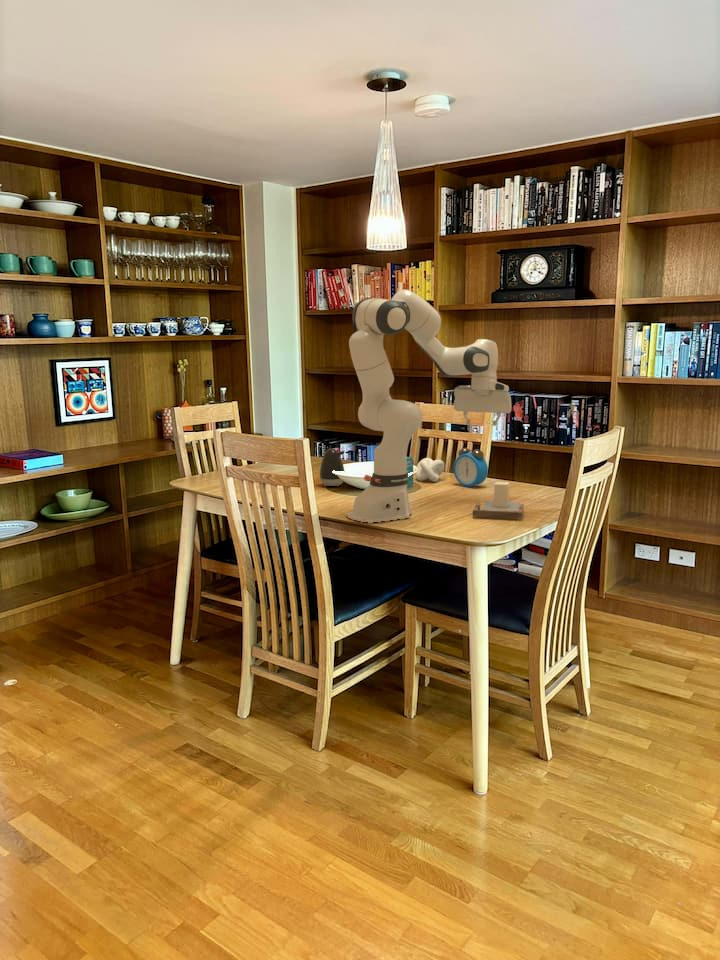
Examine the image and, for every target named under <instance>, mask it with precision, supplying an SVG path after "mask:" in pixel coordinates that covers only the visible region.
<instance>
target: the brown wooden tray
mask: <svg viewBox="0 0 720 960" xmlns="http://www.w3.org/2000/svg"><path fill="white" fill-rule="evenodd" d="M524 507H525V506H524V504H521V503H520V506H519V510H518V511H505V510H482V509H481V502H476V504H475V506H474V508H473V509H472V519H480V520H499V521H500V520H501V521H502V520H503V521H520V522H521V521H522V520H523V517H524V510H525V509H524Z"/></svg>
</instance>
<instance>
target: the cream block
mask: <svg viewBox="0 0 720 960" xmlns="http://www.w3.org/2000/svg"><path fill="white" fill-rule="evenodd" d="M509 489H510V482H509V481H495V482H494V489H493V491H494V495H493V497H494V498H493V500H494V501H493V502H494V507H500V508H508V503H509V498H510V497H509V496H510V493H509V492H510V490H509Z"/></svg>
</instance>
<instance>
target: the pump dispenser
mask: <svg viewBox="0 0 720 960" xmlns="http://www.w3.org/2000/svg"><path fill="white" fill-rule="evenodd" d="M343 454H345V451H344V450H340V451H338V450H337V449H335V448H328V449H326V451H325V452H324V454H323V456H322V458H321V459H322V460H321V462H320V468H319V478H320V481H321V483H322V484H323V486H325V487H327V486H337V487H339V486H341V485H342V484H343V482H344V480H341V479H340V478H339V477H338V476H337V475H335V474H333V473H332V471H333V470H335V471H344V472H345V465H344V463H343V460H342V458H341V456H342V455H343Z"/></svg>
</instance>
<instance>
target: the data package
mask: <svg viewBox="0 0 720 960" xmlns="http://www.w3.org/2000/svg"><path fill="white" fill-rule="evenodd" d="M410 472H413V474H412V475H411V476H409V477H408V484H407V489H410V488H412V487H413V485H414V458H413V457H411V456H407V473H410ZM409 487H410V488H409Z"/></svg>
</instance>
